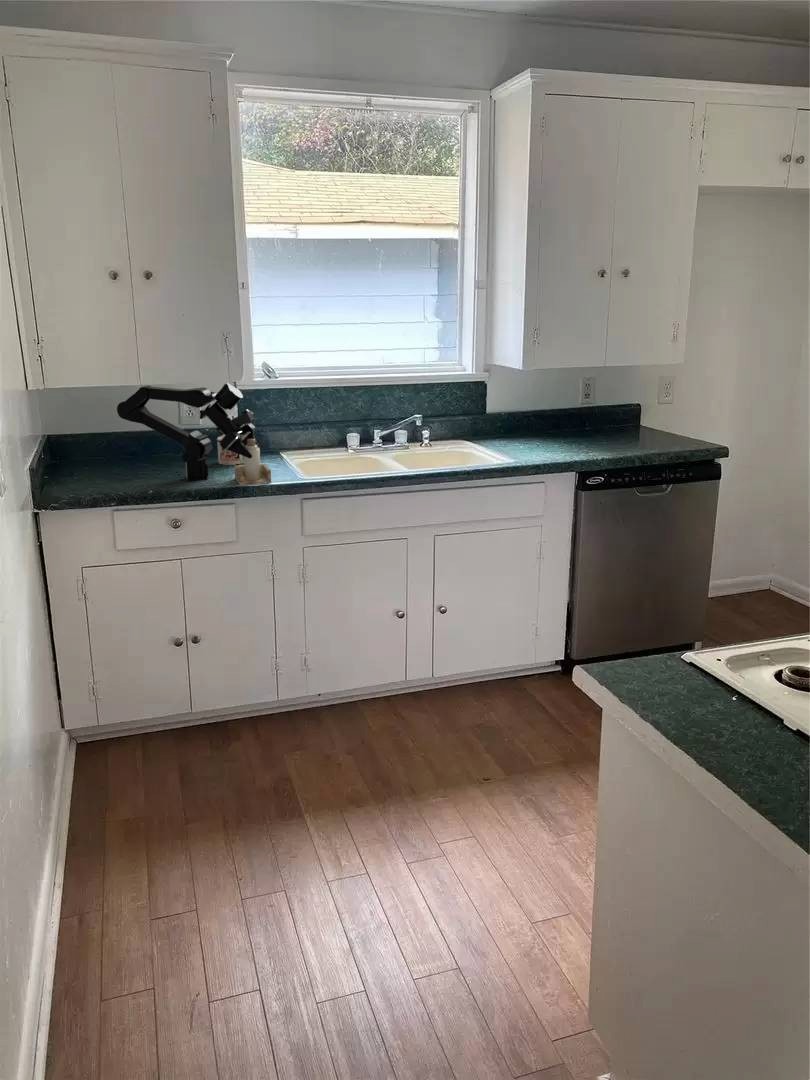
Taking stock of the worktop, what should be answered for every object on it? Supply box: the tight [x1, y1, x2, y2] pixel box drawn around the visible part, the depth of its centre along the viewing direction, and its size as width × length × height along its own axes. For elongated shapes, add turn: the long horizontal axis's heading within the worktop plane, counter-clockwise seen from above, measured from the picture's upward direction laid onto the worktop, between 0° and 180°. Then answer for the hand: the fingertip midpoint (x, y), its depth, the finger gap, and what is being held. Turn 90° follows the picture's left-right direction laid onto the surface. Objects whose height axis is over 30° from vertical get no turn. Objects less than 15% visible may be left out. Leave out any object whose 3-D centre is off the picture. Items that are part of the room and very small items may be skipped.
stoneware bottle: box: [243, 438, 261, 480], centre depth 271 cm, size 5×5×13 cm
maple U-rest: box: [234, 463, 272, 486], centre depth 273 cm, size 10×10×4 cm
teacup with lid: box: [216, 434, 244, 466], centre depth 298 cm, size 12×9×12 cm
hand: (256, 454), depth 270 cm, fingers open, 9 cm apart
